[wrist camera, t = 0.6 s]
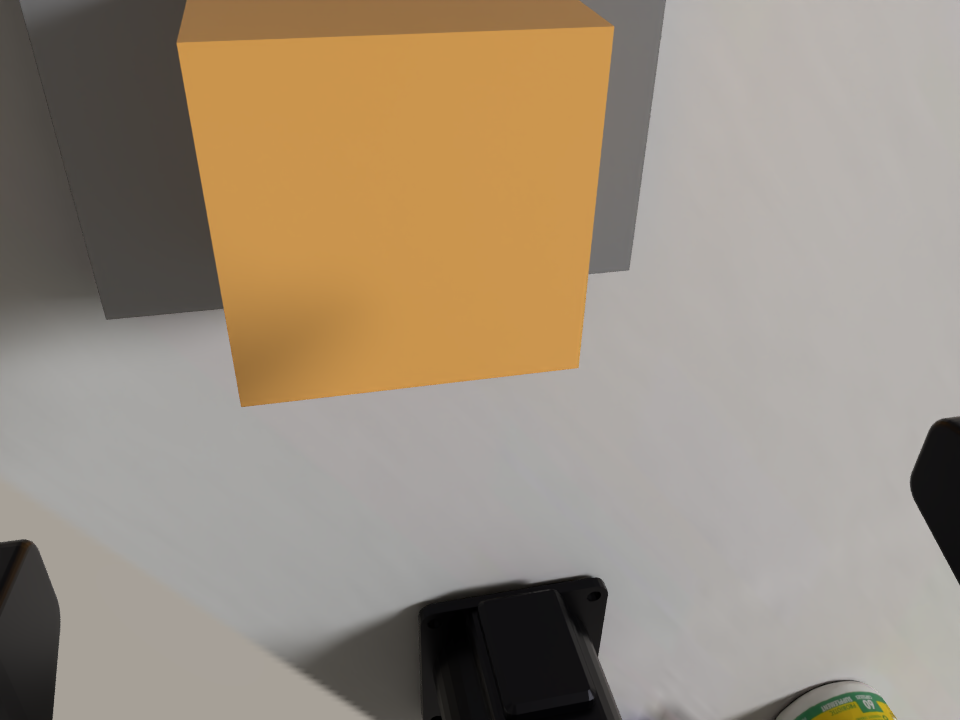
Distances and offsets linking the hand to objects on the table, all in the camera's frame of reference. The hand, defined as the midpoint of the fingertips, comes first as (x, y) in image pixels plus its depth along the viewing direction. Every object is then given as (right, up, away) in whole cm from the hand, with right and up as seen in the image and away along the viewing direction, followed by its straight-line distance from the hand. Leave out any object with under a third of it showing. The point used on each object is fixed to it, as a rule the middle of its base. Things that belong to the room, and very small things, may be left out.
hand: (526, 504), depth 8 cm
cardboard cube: (-3, +6, +9) cm, 11 cm away
